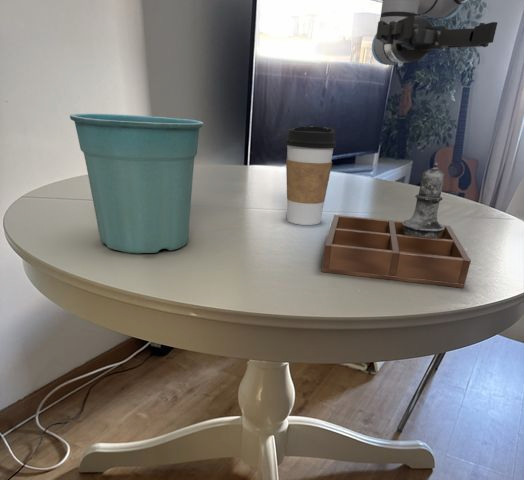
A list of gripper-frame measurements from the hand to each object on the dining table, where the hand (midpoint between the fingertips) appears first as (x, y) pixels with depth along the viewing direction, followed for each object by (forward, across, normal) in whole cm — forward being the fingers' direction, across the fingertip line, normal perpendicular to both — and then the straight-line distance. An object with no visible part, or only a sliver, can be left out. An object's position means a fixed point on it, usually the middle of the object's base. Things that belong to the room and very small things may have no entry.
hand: (452, 29), depth 76 cm
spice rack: (+26, +13, -30) cm, 42 cm away
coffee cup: (+5, +22, -30) cm, 38 cm away
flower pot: (+21, +47, -30) cm, 60 cm away
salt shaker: (+23, +8, -30) cm, 38 cm away
